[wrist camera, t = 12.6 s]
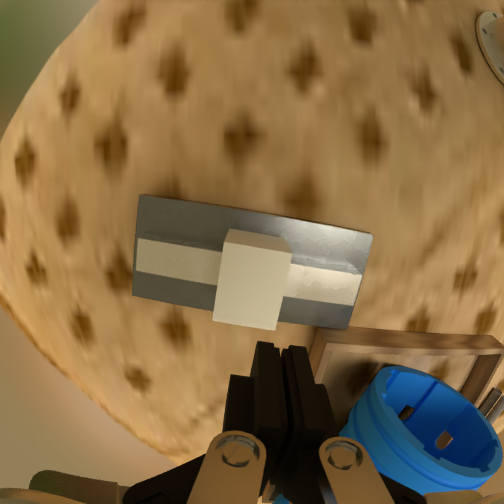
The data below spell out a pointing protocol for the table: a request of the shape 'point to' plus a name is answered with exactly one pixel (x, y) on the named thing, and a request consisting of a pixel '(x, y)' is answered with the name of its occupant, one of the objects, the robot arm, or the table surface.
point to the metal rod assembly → (488, 404)
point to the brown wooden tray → (406, 345)
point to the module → (252, 279)
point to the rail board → (251, 222)
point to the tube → (422, 433)
